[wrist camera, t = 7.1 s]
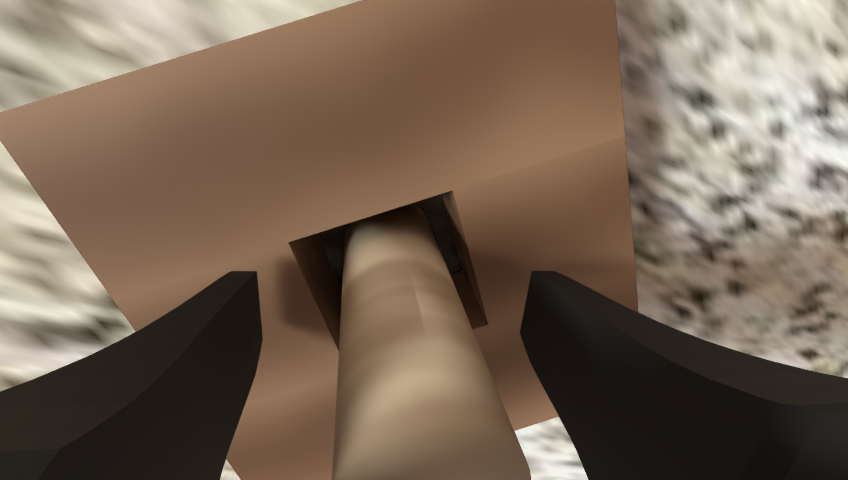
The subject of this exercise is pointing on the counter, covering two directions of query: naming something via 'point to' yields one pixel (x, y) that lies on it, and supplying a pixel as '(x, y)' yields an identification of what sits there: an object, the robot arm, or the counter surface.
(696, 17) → the counter surface
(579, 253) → the hole block
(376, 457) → the beech peg
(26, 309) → the counter surface
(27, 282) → the counter surface
